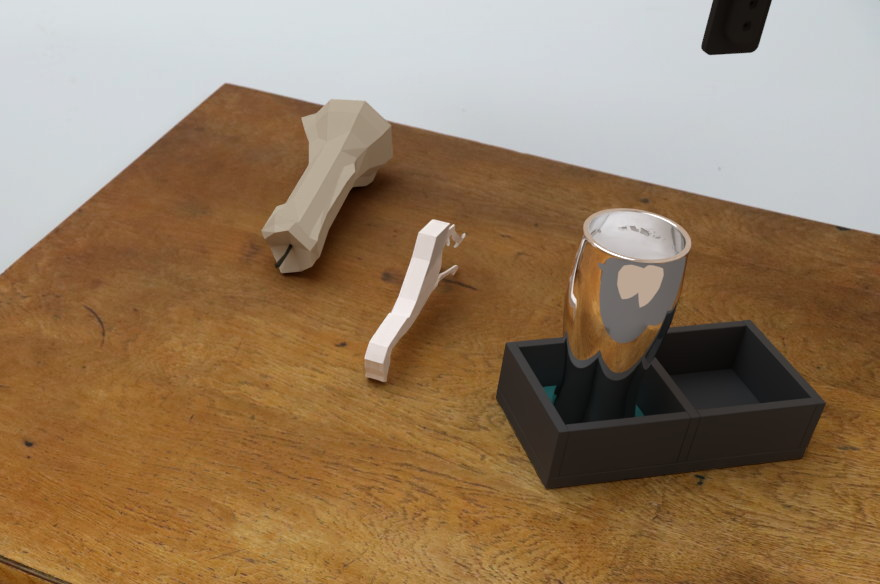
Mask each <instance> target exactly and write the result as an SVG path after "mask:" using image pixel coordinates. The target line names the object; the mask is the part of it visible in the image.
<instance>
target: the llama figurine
mask: <svg viewBox="0 0 880 584" xmlns="http://www.w3.org/2000/svg"><path fill="white" fill-rule="evenodd" d="M466 235H467V233H466V232H463V233H462V234H461V236H460V235H459V234H458V232H457V231H456V225H455V224H452V225H451V223H450V222H447V221H442V220H438V219H434V218H433V219H431V220H430V221H429V222H428V223H426V225H425V226H424V227H422V228H421V230H419V231H418V233H417V237H416V240H415V244H414V248H413V251H412V255H411V258H410V262H409V264H408V267H407V270H406V273H405V276H404V279H403V282H402V284H401V288H400V291H399V294H398V297H397V299H396V301H395V303H394V306H393V307H392V309H391V311H390V312H389V313H388V314H387V315H386V316H385V317H384V320H383V321H382V322H381V324H380V325H379V326H378V328H377V329H376V331H375V332H374V334H373V335H372V337H371V339H370V340H369V342H368V345H367V348H366V351H365V353H364V354H365V355H364V357H363V359H364V367H363V368H364V371H365V375H364V377H365V378H368V379H373V380H377V381H379V382H381V383H387V382H388V380H387V379H388V373H389V370H390V366H391V363H392V362H391V355H392V352H393V349H394V348H395V346H396V345H397V344H398V343H399V341H400V339H401V338H402V337H403V336H405V334H407V332H408V331H409V330H410V329H411V327H412V326H413V324H414V323H415V321H416V320H417V319H418V316H419V315H420V313H421V311H422V310H423V308H424V306H425V305H426V303H427V301H428V299H429V298H430V296H431V294H432V293H433V291H434V290H436V289H437V287H438V284H439V282H441V281H442V280H443V279H444V278H446V277H447V276H449V275H451V276H455V274H456V272H457V271H458V269H459V267H460V266H459V265H457V264H454V265H453V266H451V267H450V268H448V269H446V270H445V271H443V272H441V269H442V265H443V264H442V263H443V260H442V259H443V252H444V248H445V246H446V247H450V244H451V242H450V241H451V239H452V241H453V242H455V244H454V245H453V248H455V249H457V248H458V247H459V246H460V244H461V243H462V242H463V240H464V239H465V238H466ZM450 238H451V239H450Z"/></svg>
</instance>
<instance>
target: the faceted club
mask: <svg viewBox="0 0 880 584" xmlns="http://www.w3.org/2000/svg"><path fill="white" fill-rule="evenodd" d="M300 118H301V122H302V126H303V129H304V133H305V136H306V138H307V141H308V164H307V167H306V168H305V170H304V172H303V173H302V175H301V177H300V178H299V180H298V181H297V184H296V185H295V187H294V188H293V190H292V191H291V194H290V195H289V197H288V198H287V200H286V201H285V203H282V204H280V205H276V207H275V208H274V210H273V212H272V213H271V214H270V216H269V217H268V219H267V221H266V222H265V224H264V225H263V227H262V229H261V234H262V237H263V239H264V241H265V242H266V244H267V245H268V246H269V248H270V250H271V253H272V255H273V257H274V260H275V263H274V267H275V269H279V272H280V274H286V273H287V274H288V273H298V272H304V271H305V270H307V269H309V268H312V267H313V266H314V264H315V263H316V261H317V260H318V259H319V258H321V255H322V251H323V249H324V245H325V242H326V240H327V237H328V233H329V230H330V229H331V227H332V225H333V223H334V221H335V219H336V218H337V215H338V213H339V212H340V210H341V208H342V206H343V204H344V203H345V200H346V199H347V197H348V195H349V193H350V191H351V190H352V189H353V188H356V187H367V186H368V185H370V184H371V183H373V182H374V180H375V178H376V176H377V173H378V172H379V170H381V169H382V168H383V167H384V166H385V165H386V164H387V163H388V162H389V161H391V160H392V159H393V158H394V149H393V134H392V131H393V130H392V125H391V123H390V122H389V121H387V120H386V118H384V117H383V116H382V115H381V114H380V113H379V112H378V111H377V110H376V109H375V108H374V107H373V106H371V104H370V103H368V101H366V100H360V99H358V100H357V99H356V100H355V99H339V98H337V99H336V98H330V99H329V100H328V101H327V102H326V103H325V104H324V105H323V106H322V107H321V108H320V109H319V110H318V111H317V112H315V113H312V114H308V115H305V116H301V117H300Z"/></svg>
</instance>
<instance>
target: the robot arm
mask: <svg viewBox="0 0 880 584" xmlns="http://www.w3.org/2000/svg"><path fill="white" fill-rule="evenodd" d="M772 1H773V0H712V2H711V7H710V10H709V14H708V18H707V22H706V26H705V29H704V34H703V37H702V41H701V45H700V47H701V51H703V53H705V54H706V55H708V56H720V55H721V56H723V55H737V54H751V53H754V52H756V50H758V48H759V45H760V43H761V40H762V36H763V32H764V29H765V27H766V26H765V25H766V22H767V19H768V16H769V12H770V8H771V5H772Z"/></svg>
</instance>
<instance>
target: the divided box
mask: <svg viewBox="0 0 880 584" xmlns="http://www.w3.org/2000/svg"><path fill="white" fill-rule="evenodd" d="M562 358H563V336H560V337H549V338H538V339H537V338H536V339H528V340H527V339H526V340H519V341H518V340H516V341H506V342H505V346H504V351H503V355H502V361H501V365H500V371H499V377H498V383H497V389H496V393H495V399H496V401H497V403H498V404H499V407H500V408H501V410H502V412H503V413H504V415H505V417H506V420H507V421H508V422H509V424H510V426H511V428H512V430H513V432H514V433H515V435H516V438H517V439H518V441H519V442H520V445H521V447H522V449H523V451H524V452H525V454H526V455H527V457H528V459H529V461H530V463H531V464H532V467H533V468H534V470H535V472H536V474H537V476H538V477H539V479H540V482H541V483H542V485H543V487H544V489H545V490H549V489H557V488H559V489H560V488H567V487H576V486H583V485H590V484H591V485H592V484H600V483H608V482H615V481H623V480H624V481H625V480H632V479H641V478H649V477H656V476H666V475H674V474H681V473H682V474H684V473H691V472H700V471H707V470H715V469H716V470H717V469H724V468H732V467H741V466H742V467H743V466H749V465H757V464H765V463H767V464H768V463H774V462H775V463H776V462H782V461H783V462H784V461H790V460H791V461H792V460H799V459H803V458H804V456H805V454H806V451H807V450H808V449H807V448H808V447H809V444H810V442H811V440H812V438H813V435H814V433H815V431H816V428H817V426H818V424H819V421H820V419H821V416H822V414H823V413H824V410H825V407H826V404H827V402H826V400H825V399H824V398H823V397H822V396H821V395H820V394H819V393H818V392H817V391H816V390H815V389H814V387H813V386H812V385H811V384H810V383H809V382H808V381H807V379H805V378H804V376H803V375H802V374H801V373H800V372H799V370H797V369H796V368H795V366H793V364H792V363H791V362H790V361H789V360H788V359H787V358H786V357H785V356H784V355H783V353H782V352H781V351H779V349H778V348H777V347H776V346H775V345H774V344H773V343H772V341H771V340H770V339H769V338H768V337H767V336H766V335H765V334H764V333H763V331H762V330H761V329H760V328H759V327H758V326H757V325H756V324H755V323H754V322H753V320H751V319H742V320H732V321H722V322H712V323H700V324H691V325H690V324H689V325H679V326H670V327H669V329H668V332H667V334H666V336H665V338H664V340H663V342H662V344H661V346H660V348H659V350H658V352H657V353H656V355H655V357H654V359H653V361H652V363H651V365H650V366H649V368H648V370H647V372H646V374H645V376H644V378H643V380H642V382H641V385H640V388H639V391H638V395H637V400H636V415H635V417H631V418H622V419H613V420H604V421H595V422H586V423H576V424H567V425H565V424H564V422H563V420H562V419H561V417H560V415H559V414H558V412H557V410H556V409H555V407H554V405H553V404H552V402H551V400H550V398H551V396H552V394H553V392H554V390H555V388H556V385H557V383H558V380H559V377H560V373H561V368H562Z"/></svg>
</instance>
